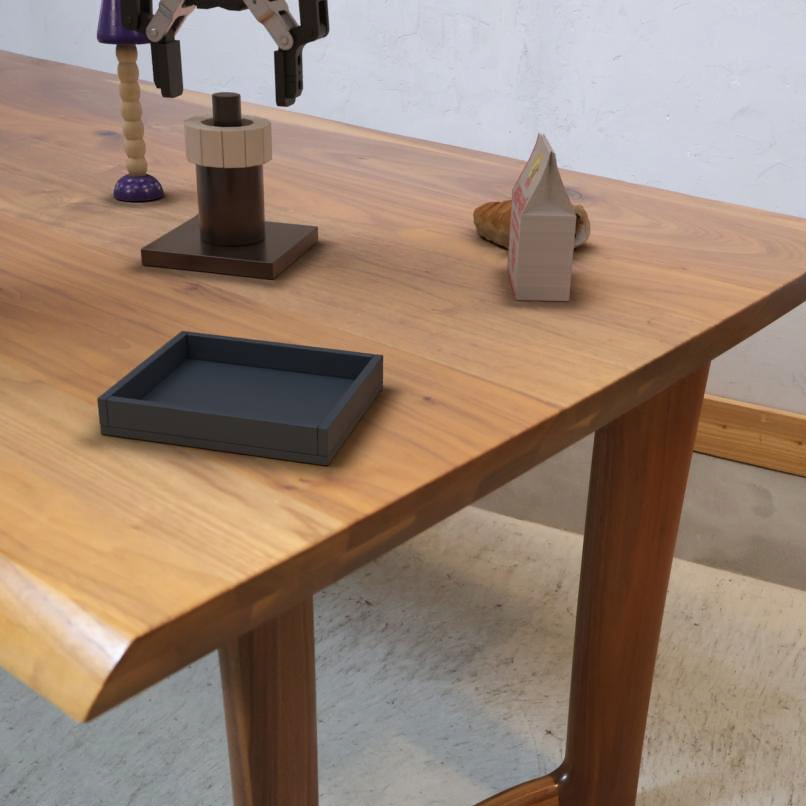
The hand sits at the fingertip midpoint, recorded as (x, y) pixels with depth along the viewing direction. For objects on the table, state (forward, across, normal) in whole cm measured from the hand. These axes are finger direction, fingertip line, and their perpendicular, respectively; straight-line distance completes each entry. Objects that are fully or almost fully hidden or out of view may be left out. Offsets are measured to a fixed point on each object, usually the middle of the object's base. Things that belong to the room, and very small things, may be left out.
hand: (229, 100), depth 81 cm
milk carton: (+12, +23, 0) cm, 25 cm away
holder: (+11, 0, 0) cm, 11 cm away
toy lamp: (+11, -14, +13) cm, 22 cm away
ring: (+4, 0, 0) cm, 4 cm away
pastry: (+12, +21, +10) cm, 26 cm away
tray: (+11, +11, -26) cm, 30 cm away
